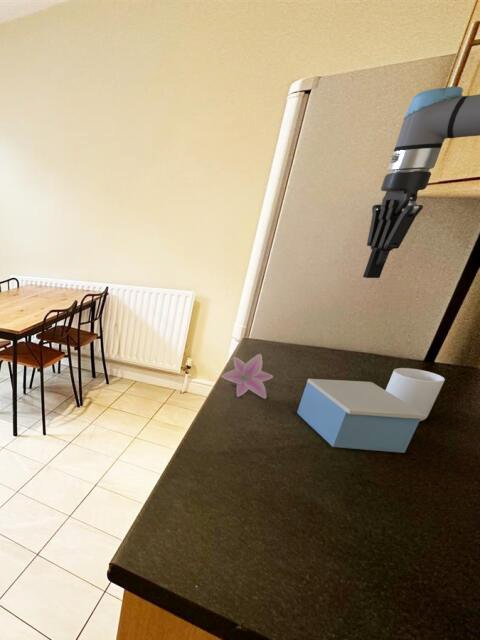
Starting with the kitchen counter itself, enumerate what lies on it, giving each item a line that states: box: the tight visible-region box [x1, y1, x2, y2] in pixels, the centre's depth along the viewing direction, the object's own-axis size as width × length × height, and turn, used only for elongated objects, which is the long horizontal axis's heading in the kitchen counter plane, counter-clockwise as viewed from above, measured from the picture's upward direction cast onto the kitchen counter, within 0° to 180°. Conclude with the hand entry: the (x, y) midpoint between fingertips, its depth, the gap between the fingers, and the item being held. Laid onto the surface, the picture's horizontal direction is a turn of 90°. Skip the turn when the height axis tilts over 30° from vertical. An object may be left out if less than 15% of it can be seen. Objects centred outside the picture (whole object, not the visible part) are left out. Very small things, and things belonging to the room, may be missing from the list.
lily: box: [221, 353, 274, 400], centre depth 111 cm, size 12×12×10 cm
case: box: [296, 381, 421, 454], centre depth 91 cm, size 16×13×8 cm
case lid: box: [306, 378, 427, 420], centre depth 88 cm, size 16×13×1 cm
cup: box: [384, 367, 446, 422], centre depth 98 cm, size 8×12×10 cm
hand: (371, 277), depth 103 cm, fingers closed
